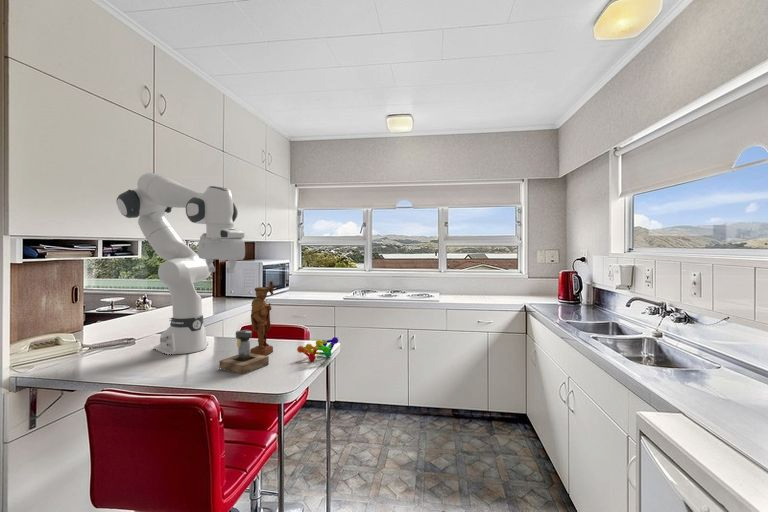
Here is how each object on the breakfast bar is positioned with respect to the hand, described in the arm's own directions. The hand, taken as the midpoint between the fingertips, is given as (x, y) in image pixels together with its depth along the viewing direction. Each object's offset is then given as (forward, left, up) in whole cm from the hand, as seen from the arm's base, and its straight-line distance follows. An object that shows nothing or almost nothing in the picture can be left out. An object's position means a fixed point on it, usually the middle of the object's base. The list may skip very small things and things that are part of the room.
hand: (221, 272), depth 136 cm
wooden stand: (+3, +7, -35) cm, 36 cm away
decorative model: (+21, +28, -35) cm, 50 cm away
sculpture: (-3, +22, -35) cm, 42 cm away
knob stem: (+3, +7, -35) cm, 36 cm away
